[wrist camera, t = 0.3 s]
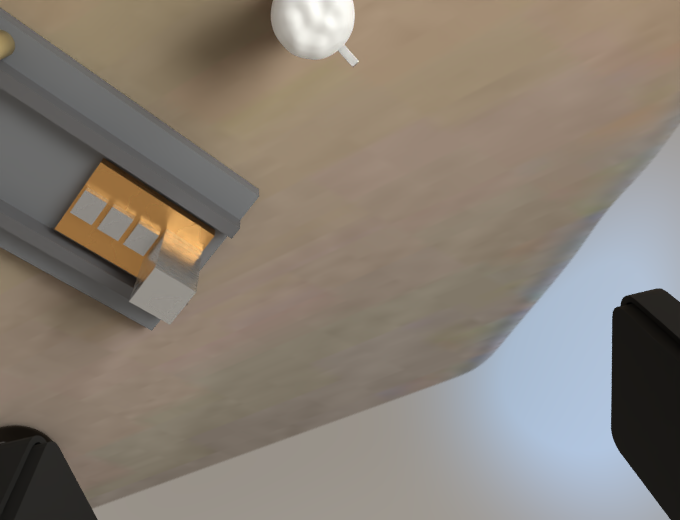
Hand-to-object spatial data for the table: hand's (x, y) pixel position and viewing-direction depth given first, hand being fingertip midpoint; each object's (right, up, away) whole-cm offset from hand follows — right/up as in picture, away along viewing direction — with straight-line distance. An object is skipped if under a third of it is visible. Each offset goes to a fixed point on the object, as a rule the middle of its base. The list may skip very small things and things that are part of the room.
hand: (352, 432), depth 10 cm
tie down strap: (-15, +5, +34) cm, 37 cm away
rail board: (-18, +8, +34) cm, 39 cm away
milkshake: (-2, +20, +31) cm, 36 cm away
